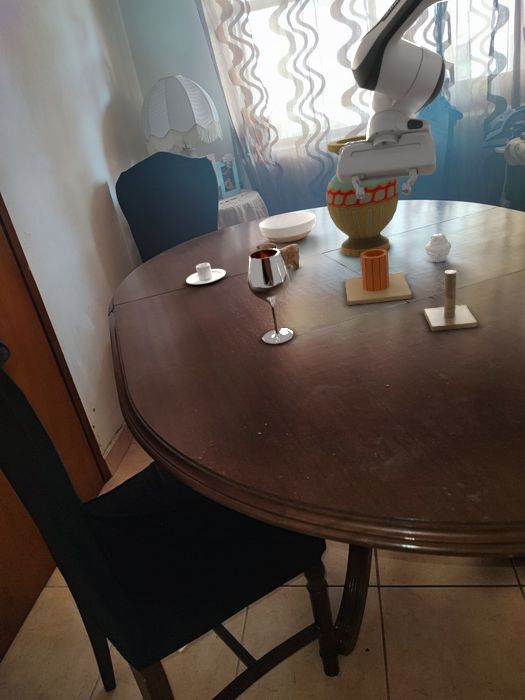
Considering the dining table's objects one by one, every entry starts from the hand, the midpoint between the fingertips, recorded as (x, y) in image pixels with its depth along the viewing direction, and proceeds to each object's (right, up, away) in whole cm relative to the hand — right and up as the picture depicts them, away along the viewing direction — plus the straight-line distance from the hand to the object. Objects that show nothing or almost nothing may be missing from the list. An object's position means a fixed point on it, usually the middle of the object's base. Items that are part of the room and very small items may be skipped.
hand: (382, 195), depth 96 cm
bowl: (-15, +7, +65) cm, 67 cm away
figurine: (-19, -10, +35) cm, 41 cm away
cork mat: (+2, -18, +13) cm, 22 cm away
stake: (+12, -26, -5) cm, 29 cm away
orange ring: (+2, -17, +13) cm, 21 cm away
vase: (+6, -2, +41) cm, 41 cm away
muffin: (+20, -9, +23) cm, 32 cm away
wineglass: (-22, -30, +1) cm, 37 cm away
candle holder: (-41, -11, +42) cm, 60 cm away
